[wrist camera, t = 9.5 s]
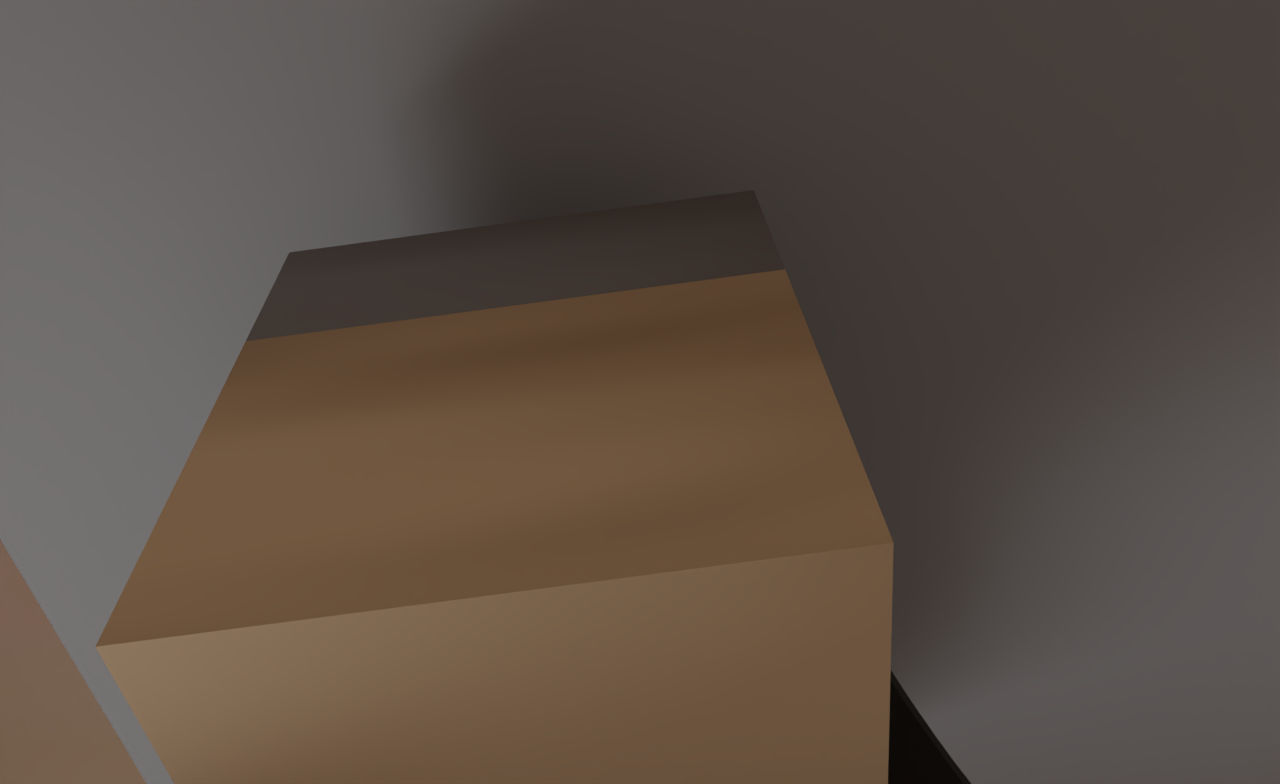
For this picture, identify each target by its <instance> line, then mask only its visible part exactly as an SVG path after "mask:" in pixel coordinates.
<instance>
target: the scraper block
mask: <svg viewBox="0 0 1280 784" xmlns="http://www.w3.org/2000/svg"><path fill="white" fill-rule="evenodd" d="M893 548H894V542H893V540H892V537H891V535H890V532H889V530H888V527H887V525H886V522H885V520H884V517H883V515H882V512H881V510H880V507H879V505H878V502H877V500H876V497H875V495H874V492H873V490H872V487H871V484H870V482H869V479H868V477H867V474H866V472H865V469H864V467H863V464H862V462H861V459H860V457H859V454H858V452H857V449H856V447H855V444H854V442H853V439H852V437H851V434H850V432H849V429H848V427H847V424H846V421H845V419H844V416H843V414H842V411H841V409H840V406H839V404H838V401H837V399H836V396H835V394H834V391H833V389H832V386H831V384H830V381H829V379H828V376H827V374H826V371H825V369H824V366H823V363H822V361H821V358H820V356H819V353H818V351H817V348H816V346H815V343H814V341H813V338H812V336H811V333H810V331H809V328H808V326H807V323H806V321H805V318H804V316H803V313H802V311H801V308H800V305H799V303H798V300H797V298H796V295H795V293H794V290H793V288H792V285H791V283H790V280H789V278H788V275H787V273H786V270H785V268H784V265H783V263H782V260H781V258H780V255H779V253H778V250H777V247H776V245H775V242H774V240H773V237H772V235H771V232H770V230H769V227H768V225H767V222H766V220H765V217H764V215H763V212H762V210H761V207H760V205H759V202H758V200H757V197H756V195H755V192H754V190H750V191H743V192H735V193H728V194H720V195H713V196H705V197H698V198H690V199H683V200H676V201H668V202H661V203H653V204H646V205H638V206H631V207H623V208H616V209H608V210H601V211H594V212H586V213H579V214H571V215H564V216H556V217H549V218H541V219H534V220H526V221H519V222H512V223H504V224H497V225H489V226H482V227H474V228H467V229H459V230H452V231H444V232H437V233H430V234H422V235H415V236H407V237H400V238H392V239H385V240H377V241H370V242H362V243H355V244H348V245H340V246H333V247H325V248H318V249H310V250H303V251H295V252H289V254H288V256H287V258H286V260H285V262H284V264H283V266H282V268H281V270H280V272H279V274H278V277H277V279H276V281H275V283H274V285H273V287H272V289H271V291H270V293H269V295H268V297H267V299H266V301H265V303H264V305H263V307H262V309H261V311H260V313H259V315H258V317H257V319H256V321H255V323H254V325H253V327H252V329H251V331H250V333H249V335H248V337H247V339H246V342H245V344H244V346H243V348H242V350H241V352H240V354H239V356H238V358H237V360H236V362H235V364H234V366H233V368H232V370H231V372H230V374H229V376H228V378H227V380H226V382H225V384H224V386H223V388H222V390H221V392H220V394H219V396H218V398H217V400H216V402H215V405H214V407H213V409H212V411H211V413H210V415H209V417H208V419H207V421H206V423H205V425H204V427H203V429H202V431H201V433H200V435H199V437H198V439H197V441H196V443H195V445H194V447H193V449H192V451H191V453H190V455H189V457H188V459H187V461H186V463H185V465H184V468H183V470H182V472H181V474H180V476H179V478H178V480H177V482H176V484H175V486H174V488H173V490H172V492H171V494H170V496H169V498H168V500H167V502H166V504H165V506H164V508H163V510H162V512H161V514H160V516H159V518H158V520H157V522H156V524H155V526H154V528H153V531H152V533H151V535H150V537H149V539H148V541H147V543H146V545H145V547H144V549H143V551H142V553H141V555H140V557H139V559H138V561H137V563H136V565H135V567H134V569H133V571H132V573H131V575H130V577H129V579H128V581H127V583H126V585H125V587H124V589H123V591H122V594H121V596H120V598H119V600H118V602H117V604H116V606H115V608H114V610H113V612H112V614H111V616H110V618H109V620H108V622H107V624H106V626H105V628H104V630H103V632H102V634H101V636H100V638H99V640H98V642H97V644H96V646H95V647H96V649H97V651H98V652H99V654H100V656H101V658H102V659H103V661H104V663H105V665H106V666H107V668H108V670H109V671H110V673H111V675H112V677H113V678H114V680H115V682H116V684H117V685H118V687H119V689H120V691H121V692H122V694H123V696H124V697H125V699H126V701H127V703H128V704H129V706H130V708H131V710H132V711H133V713H134V715H135V716H136V718H137V720H138V722H139V723H140V725H141V727H142V729H143V730H144V732H145V734H146V735H147V737H148V739H149V741H150V742H151V744H152V746H153V748H154V749H155V751H156V753H157V755H158V756H159V758H160V760H161V761H162V763H163V765H164V767H165V768H166V770H167V772H168V774H169V775H170V777H171V779H172V780H173V782H174V784H888V760H889V718H890V675H891V633H892V590H893Z"/></svg>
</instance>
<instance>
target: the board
mask: <svg viewBox="0 0 1280 784" xmlns="http://www.w3.org/2000/svg"><path fill="white" fill-rule="evenodd" d="M750 190H754V192H755V195H756V197H757V200H758V202H759V205H760V207H761V210H762V212H763V215H764V217H765V220H766V222H767V225H768V227H769V230H770V232H771V235H772V237H773V240H774V242H775V245H776V247H777V250H778V253H779V255H780V258H781V260H782V263H783V265H784V268H785V270H786V273H787V275H788V278H789V280H790V283H791V285H792V288H793V290H794V293H795V295H796V298H797V300H798V303H799V305H800V308H801V311H802V313H803V316H804V318H805V321H806V323H807V326H808V328H809V331H810V333H811V336H812V338H813V341H814V343H815V346H816V348H817V351H818V353H819V356H820V358H821V361H822V363H823V366H824V369H825V371H826V374H827V376H828V379H829V381H830V384H831V386H832V389H833V391H834V394H835V396H836V399H837V401H838V404H839V406H840V409H841V411H842V414H843V416H844V419H845V421H846V424H847V427H848V429H849V432H850V434H851V437H852V439H853V442H854V444H855V447H856V449H857V452H858V454H859V457H860V459H861V462H862V464H863V467H864V469H865V472H866V474H867V477H868V479H869V482H870V484H871V487H872V490H873V492H874V495H875V497H876V500H877V502H878V505H879V507H880V510H881V512H882V515H883V517H884V520H885V522H886V525H887V527H888V530H889V532H890V535H891V537H892V540H893V542H894V548H893V590H892V633H891V671H892V672H893V674H894V675H895V677H896V678H897V680H898V682H899V683H900V685H901V686H902V688H903V689H904V691H905V692H906V694H907V695H908V697H909V698H910V700H911V701H912V703H913V704H914V706H915V707H916V709H917V710H918V711H919V713H920V714H921V716H922V717H923V719H924V720H925V722H926V723H927V724H928V726H929V727H930V729H931V730H932V732H933V733H934V734H935V736H936V737H937V739H938V740H939V741H940V743H941V744H942V746H943V747H944V748H945V750H946V751H947V752H948V754H949V755H950V756H951V758H952V759H953V761H954V762H955V763H956V765H957V766H958V767H959V768H960V770H961V771H962V772H963V774H964V775H965V776H966V777H967V779H968V780H969V781H970V783H971V784H1280V0H0V540H1V541H2V543H3V545H4V546H5V548H6V550H7V551H8V553H9V555H10V556H11V558H12V560H13V561H14V563H15V565H16V566H17V568H18V570H19V571H20V573H21V575H22V576H23V578H24V580H25V581H26V583H27V585H28V586H29V588H30V590H31V591H32V593H33V595H34V596H35V598H36V600H37V601H38V603H39V605H40V606H41V608H42V610H43V611H44V613H45V615H46V616H47V618H48V620H49V621H50V623H51V625H52V626H53V628H54V630H55V631H56V633H57V635H58V636H59V638H60V640H61V641H62V643H63V645H64V646H65V648H66V650H67V651H68V653H69V655H70V656H71V658H72V660H73V661H74V663H75V665H76V666H77V668H78V670H79V671H80V673H81V675H82V676H83V678H84V680H85V681H86V683H87V685H88V686H89V688H90V690H91V691H92V693H93V695H94V696H95V698H96V700H97V701H98V703H99V705H100V706H101V708H102V710H103V711H104V713H105V715H106V716H107V718H108V720H109V721H110V723H111V725H112V726H113V728H114V730H115V731H116V733H117V735H118V736H119V738H120V740H121V741H122V743H123V745H124V746H125V748H126V750H127V751H128V753H129V755H130V756H131V758H132V760H133V761H134V763H135V765H136V766H137V768H138V770H139V771H140V773H141V775H142V776H143V778H144V780H145V781H146V783H147V784H174V782H173V780H172V779H171V777H170V775H169V774H168V772H167V770H166V768H165V767H164V765H163V763H162V761H161V760H160V758H159V756H158V755H157V753H156V751H155V749H154V748H153V746H152V744H151V742H150V741H149V739H148V737H147V735H146V734H145V732H144V730H143V729H142V727H141V725H140V723H139V722H138V720H137V718H136V716H135V715H134V713H133V711H132V710H131V708H130V706H129V704H128V703H127V701H126V699H125V697H124V696H123V694H122V692H121V691H120V689H119V687H118V685H117V684H116V682H115V680H114V678H113V677H112V675H111V673H110V671H109V670H108V668H107V666H106V665H105V663H104V661H103V659H102V658H101V656H100V654H99V652H98V651H97V649H96V647H95V646H96V644H97V642H98V640H99V638H100V636H101V634H102V632H103V630H104V628H105V626H106V624H107V622H108V620H109V618H110V616H111V614H112V612H113V610H114V608H115V606H116V604H117V602H118V600H119V598H120V596H121V594H122V591H123V589H124V587H125V585H126V583H127V581H128V579H129V577H130V575H131V573H132V571H133V569H134V567H135V565H136V563H137V561H138V559H139V557H140V555H141V553H142V551H143V549H144V547H145V545H146V543H147V541H148V539H149V537H150V535H151V533H152V531H153V528H154V526H155V524H156V522H157V520H158V518H159V516H160V514H161V512H162V510H163V508H164V506H165V504H166V502H167V500H168V498H169V496H170V494H171V492H172V490H173V488H174V486H175V484H176V482H177V480H178V478H179V476H180V474H181V472H182V470H183V468H184V465H185V463H186V461H187V459H188V457H189V455H190V453H191V451H192V449H193V447H194V445H195V443H196V441H197V439H198V437H199V435H200V433H201V431H202V429H203V427H204V425H205V423H206V421H207V419H208V417H209V415H210V413H211V411H212V409H213V407H214V405H215V402H216V400H217V398H218V396H219V394H220V392H221V390H222V388H223V386H224V384H225V382H226V380H227V378H228V376H229V374H230V372H231V370H232V368H233V366H234V364H235V362H236V360H237V358H238V356H239V354H240V352H241V350H242V348H243V346H244V344H245V342H246V339H247V337H248V335H249V333H250V331H251V329H252V327H253V325H254V323H255V321H256V319H257V317H258V315H259V313H260V311H261V309H262V307H263V305H264V303H265V301H266V299H267V297H268V295H269V293H270V291H271V289H272V287H273V285H274V283H275V281H276V279H277V277H278V274H279V272H280V270H281V268H282V266H283V264H284V262H285V260H286V258H287V256H288V254H289V252H295V251H303V250H310V249H318V248H325V247H333V246H340V245H348V244H355V243H362V242H370V241H377V240H385V239H392V238H400V237H407V236H415V235H422V234H430V233H437V232H444V231H452V230H459V229H467V228H474V227H482V226H489V225H497V224H504V223H512V222H519V221H526V220H534V219H541V218H549V217H556V216H564V215H571V214H579V213H586V212H594V211H601V210H608V209H616V208H623V207H631V206H638V205H646V204H653V203H661V202H668V201H676V200H683V199H690V198H698V197H705V196H713V195H720V194H728V193H735V192H743V191H750Z"/></svg>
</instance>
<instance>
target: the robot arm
mask: <svg viewBox="0 0 1280 784" xmlns="http://www.w3.org/2000/svg"><path fill="white" fill-rule="evenodd" d="M888 784H971V783H970V781H969V780H968V779H967V777H966V776H965V775H964V774H963V772H962V771H961V770H960V768H959V767H958V766H957V765H956V763H955V762H954V761H953V759H952V758H951V756H950V755H949V754H948V752H947V751H946V750H945V748H944V747H943V746H942V744H941V743H940V741H939V740H938V739H937V737H936V736H935V734H934V733H933V732H932V730H931V729H930V727H929V726H928V724H927V723H926V722H925V720H924V719H923V717H922V716H921V714H920V713H919V711H918V710H917V709H916V707H915V706H914V704H913V703H912V701H911V700H910V698H909V697H908V695H907V694H906V692H905V691H904V689H903V688H902V686H901V685H900V683H899V682H898V680H897V678H896V677H895V675H894V674H893V672H892V671H891V675H890V718H889V760H888Z"/></svg>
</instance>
